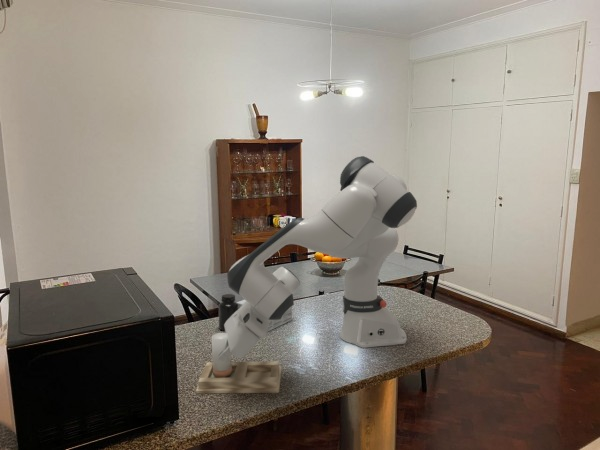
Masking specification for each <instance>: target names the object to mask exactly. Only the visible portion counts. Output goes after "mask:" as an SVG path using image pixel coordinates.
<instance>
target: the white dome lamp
mask: <svg viewBox="0 0 600 450" xmlns="http://www.w3.org/2000/svg"><path fill="white" fill-rule="evenodd" d="M227 347H228V334H227V333H226V332H217V333H214V334H212V335H211V351H212V353H211V354H212V362H213V376H214V377H216V378H226V377H229V376H230V375H231V374H232V365H231V362H232V355H231V356H229V357H227V358H226V359H225V360H224V361H221V360H220V359H219V354H220V353H221V352H222V351H224V350H226V349H227Z"/></svg>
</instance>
